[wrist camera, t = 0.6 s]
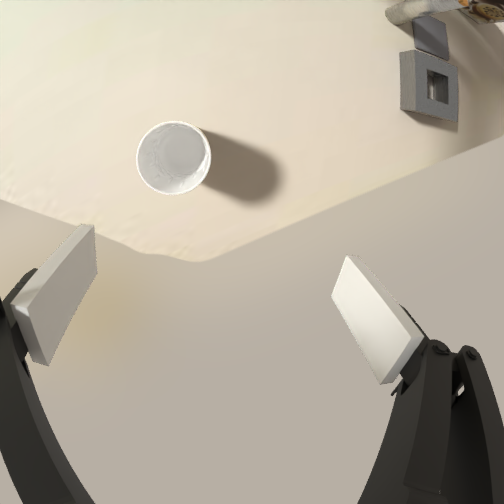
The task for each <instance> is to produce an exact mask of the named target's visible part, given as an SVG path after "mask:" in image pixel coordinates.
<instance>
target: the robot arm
mask: <svg viewBox="0 0 504 504" xmlns="http://www.w3.org/2000/svg"><path fill="white" fill-rule="evenodd" d="M96 275H97V264H96V250H95V233H94V225H86V224H81V225H79V226H78V227H77V228H76V229H75V230H74V232H73V233H72V234H70V236H69V237H68V238H67V239H66V240H65V241H64V242H63V243H62V244H61V245H60V246H59V247H58V248H57V249H56V250H55V251H54V252H53V253H52V254H51V256H50V257H49V258H48V259H47V260H46V261H45V262H44V263H43V265H42V266H41V267H40V268H39V269H36V268H34V269H32V270H31V271H29V272H28V273H26V274H25V275H24V276H23V277H22V278H21V280H20V282H19V283H17V284H16V286H15V288H13V289H12V290H11V291H10V293H9V294H8V295H7V296H6V298H5V299H4V300H3V301H1V298H0V451H1V453H2V456H3V459H4V461H5V464H6V467H7V469H8V472H9V474H10V476H11V479H12V481H13V483H14V486H15V488H16V490H17V492H18V494H19V496H20V498H21V500H22V502H23V504H95V503H94V501H93V500H92V499H91V497H90V496H89V494H88V493H87V491H86V490H85V488H84V487H83V485H82V484H81V482H80V480H79V479H78V477H77V475H76V474H75V472H74V470H73V469H72V467H71V465H70V464H69V462H68V460H67V458H66V456H65V455H64V453H63V451H62V449H61V447H60V445H59V443H58V441H57V439H56V437H55V435H54V433H53V431H52V428H51V426H50V424H49V422H48V420H47V417H46V415H45V413H44V410H43V408H42V406H41V403H40V401H39V397H38V395H37V392H36V390H35V387H34V384H33V381H32V378H31V375H30V372H29V369H28V365H27V363H26V361H25V356H26V354H27V352H29V354H30V356H31V358H32V361H33V362H36V363H39V364H43V365H46V366H49V364H50V362H51V360H52V358H53V355H54V353H55V351H56V349H57V347H58V345H59V343H60V341H61V339H62V337H63V335H64V333H65V330H66V329H67V327H68V325H69V323H70V321H71V319H72V317H73V315H74V313H75V311H76V310H77V308H78V306H79V304H80V302H81V300H82V299H83V297H84V295H85V294H86V292H87V290H88V288H89V287H90V285H91V283H92V282H93V280H94V278H95V276H96ZM331 297H332V299H333V301H334V302H335V304H336V306H337V308H338V309H339V311H340V313H341V315H342V316H343V318H344V320H345V322H346V323H347V325H348V327H349V329H350V331H351V332H352V334H353V336H354V338H355V340H356V341H357V343H358V345H359V347H360V349H361V351H362V352H363V354H364V356H365V358H366V360H367V362H368V364H369V365H370V367H371V369H372V371H373V373H374V375H375V377H376V379H377V380H378V382H379V384H380V385H381V384H387V383H392V382H393V381H394V380H395V379H396V377H397V376H398V374H399V373H400V374H401V376H402V377H403V379H402V380H401V382H400V383H399V384H398V386H397V387H396V388H395V390H394V391H393V392H392V393H391V396H393V395H394V393H396V392H397V395H396V398H395V402H394V406H393V409H392V413H391V417H390V420H389V423H388V426H387V430H386V433H385V436H384V439H383V442H382V445H381V448H380V450H379V453H378V456H377V459H376V461H375V464H374V466H373V469H372V472H371V474H370V476H369V479H368V481H367V484H366V486H365V489H364V491H363V493H362V495H361V497H360V499H359V501H358V504H504V426H503V422H502V418H501V415H500V412H499V408H498V405H497V402H496V398H495V395H494V392H493V389H492V385H491V382H490V380H489V377H488V374H487V371H486V369H485V366H484V363H483V361H482V358H481V356H480V354H479V353H478V352H477V350H476V349H475V348H473V347H470V346H467V345H465V346H463V347H462V348H461V350H460V351H459V352H458V353H452V352H451V351H450V349H449V348H448V347H447V346H446V345H445V344H444V343H442V342H441V341H438V340H430V339H429V338H428V337H427V336H426V334H425V333H424V332H423V331H422V329H421V328H420V326H419V325H418V324H417V323H415V322H416V321H415V320H414V319H413V318H412V317H411V315H410V314H409V313H408V311H407V310H406V309H405V308H404V307H402V306H401V305H400V304H398V302H397V301H396V300H395V299H394V297H393V296H392V295H391V294H390V293H389V292H388V290H387V289H386V288H385V287H384V286H383V284H382V283H381V282H380V281H379V280H378V279H377V277H376V276H375V275H374V274H373V273H372V271H371V270H370V269H369V268H368V267H367V266H366V265H365V263H364V262H363V261H362V260H361V259H360V258H359V257H358V256H352V255H346V258H345V261H344V264H343V266H342V269H341V272H340V274H339V277H338V280H337V283H336V285H335V288H334V290H333V293H332V296H331ZM463 385H464V391H463V392H462V393H461V395H459V396H458V391H459V389H460V388H461V387H462V386H463Z"/></svg>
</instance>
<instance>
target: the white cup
mask: <svg viewBox="0 0 504 504" xmlns="http://www.w3.org/2000/svg"><path fill="white" fill-rule="evenodd" d="M136 162H137V168H138V171H139V174H140V176H141V178H142V179H143V181H144V182H145V183H146V184H147V185H148V186H149V187H150V188H152V189H153V190H155V191H157V192H159V193H162V194H165V195H180V194H184V193H187V192H189V191H191V190H193V189H195V188H196V187H197V186H198V185H200V184H201V182H202V181H203V180H204V179H205V177H206V175H207V174H208V171H209V169H210V165H211V149H210V145H209V142H208V139H207V137H206V136H205V134H204V133H203V132H202V131H201V130H200V129H199V128H197V127H196V126H194V125H192V124H189V123H186V122H181V121H168V122H164V123H161V124H159V125H157V126H155V127H153V128H152V129H151V130H150V131H148V132H147V133H146V135H145V136H144V137H143V139H142V140H141V142H140V144H139V147H138V150H137V157H136Z"/></svg>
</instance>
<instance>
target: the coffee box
mask: <svg viewBox="0 0 504 504" xmlns="http://www.w3.org/2000/svg"><path fill="white" fill-rule="evenodd" d="M458 9H459V10H460V11H462V12H463V13H465V14H466V15H467V16H469V17H470V18H472V19H473V20H474V21H476V22H477V23H478V24H484V23H496V22H504V0H468V6H467V7H463V8H458Z"/></svg>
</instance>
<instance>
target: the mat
mask: <svg viewBox="0 0 504 504" xmlns="http://www.w3.org/2000/svg"><path fill="white" fill-rule="evenodd" d="M412 22H413V31H414V41H415V48H417V49H420V50H423V51H425V52H428V53H430V54H433V55H435V56H438V57H440V58H442V59H445V60H449V52H448V42H447V33H446V26H445V23H443V22H441V21H439V20H437V19H435V18H433V17H431V16H426V17H422V18H419V19H415V20H412Z"/></svg>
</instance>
